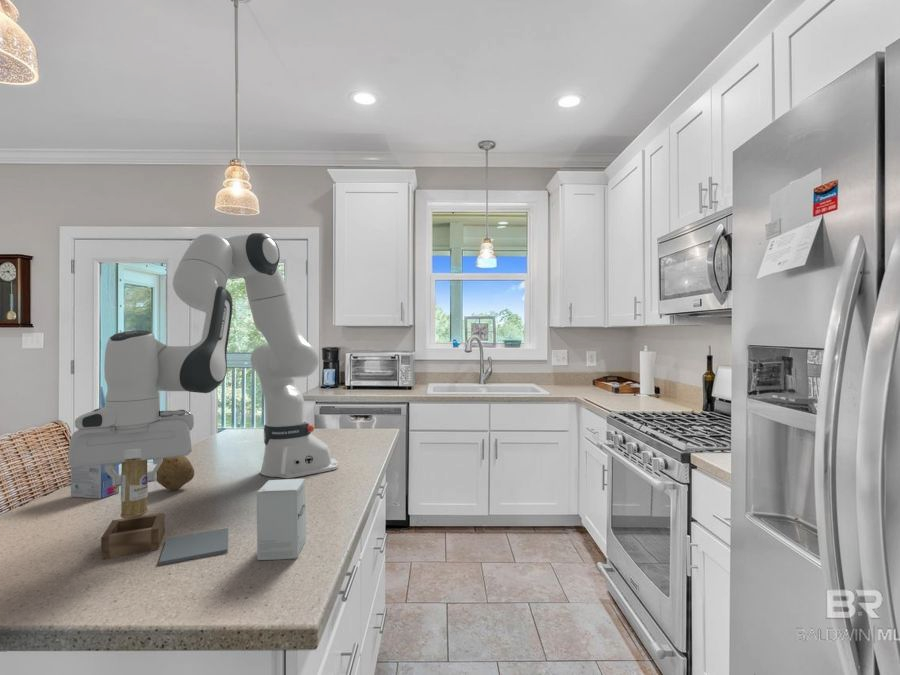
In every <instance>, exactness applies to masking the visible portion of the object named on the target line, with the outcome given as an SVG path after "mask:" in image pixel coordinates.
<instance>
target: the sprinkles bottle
mask: <svg viewBox="0 0 900 675" xmlns="http://www.w3.org/2000/svg"><path fill="white" fill-rule="evenodd" d="M140 458H141V449H127V450H125V453H124V459H126V460H125V462H124V463H121V473H120V475H121V486H120V502H121V504H120V505H121V506H120V507H121V510H120V511H121V512H120V517H121V519H125V518H129V519H130V518H136V517H140V516H145V515H147V514H148V511H149V509H148V496H149V493H148V492H149V490H148V488H149V486H148V484H149V482H147V479H148V478H147V473H148V460H141V459H140Z"/></svg>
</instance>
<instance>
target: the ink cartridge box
mask: <svg viewBox="0 0 900 675" xmlns="http://www.w3.org/2000/svg"><path fill="white" fill-rule="evenodd" d="M119 464H120V463H116V467H115V468H114V470H115V471H116V473H117V474H118V475H120V469H119V468H120V465H119ZM119 492H120V486H116V487H113V486H112V478H111V477H110V476H109V475H108V473H107V472H106V471H105V465H97V466H88V467H79V468H73V467H72V466H71V465H70V497H71V498H85V499H87V498H88V499H103V498H104V499H105V498H106V497H110V496H113V495H116V493H117V494H119Z"/></svg>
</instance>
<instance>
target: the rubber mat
mask: <svg viewBox="0 0 900 675" xmlns="http://www.w3.org/2000/svg"><path fill="white" fill-rule="evenodd" d="M228 537H229V528H228V527H224V528H219V529H212V530H207V531H201V532H194V533H188V534H182V535H176V536H172V537H171V536H170V537H167V538H166V540H165V544H164V547H163V550H162V552H161V556H160V558H159V561H158V563H159V564H158V566H163V565H169V564H174V563H178V562H184V561H188V560H195V559H199V558H205V557H209V556H210V557H211V556H215V555H221V554H222V555H223V554H226V553H228V544H229V542H228V541H229V540H228V539H229V538H228Z"/></svg>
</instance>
